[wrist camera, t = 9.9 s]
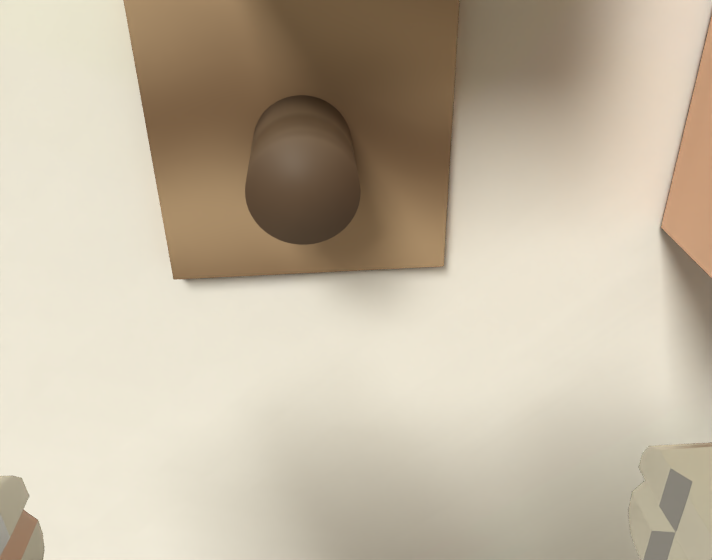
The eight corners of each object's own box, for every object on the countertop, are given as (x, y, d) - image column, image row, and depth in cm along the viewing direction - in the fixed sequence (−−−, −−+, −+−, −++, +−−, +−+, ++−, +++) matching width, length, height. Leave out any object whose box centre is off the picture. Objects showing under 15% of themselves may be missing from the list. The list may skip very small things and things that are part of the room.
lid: (438, 251, 23) (466, 329, 19) (178, 263, 22) (153, 346, 19) (453, -29, 18) (493, 0, 15) (129, -20, 18) (83, 11, 14)
